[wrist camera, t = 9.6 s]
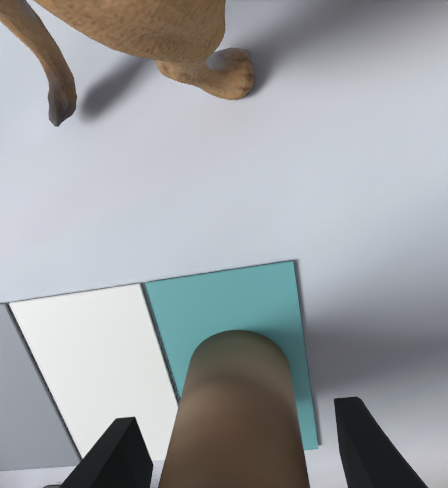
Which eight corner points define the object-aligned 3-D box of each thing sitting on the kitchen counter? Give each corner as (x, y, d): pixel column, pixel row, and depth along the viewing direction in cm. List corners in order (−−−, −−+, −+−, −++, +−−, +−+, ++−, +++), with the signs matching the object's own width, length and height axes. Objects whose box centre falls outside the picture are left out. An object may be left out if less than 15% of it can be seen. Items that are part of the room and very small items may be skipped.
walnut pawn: (200, 414, 12) (170, 591, 8) (179, 335, 11) (127, 489, 6) (295, 406, 12) (325, 591, 7) (283, 324, 11) (310, 480, 6)
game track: (-15, 469, 15) (-17, 472, 14) (-110, 319, 12) (-112, 321, 12) (317, 446, 13) (318, 449, 12) (292, 260, 10) (293, 261, 10)
